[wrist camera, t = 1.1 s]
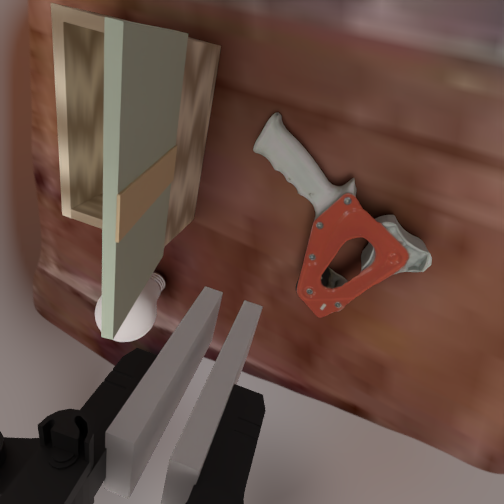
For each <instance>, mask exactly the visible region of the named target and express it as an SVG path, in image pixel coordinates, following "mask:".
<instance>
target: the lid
mask: <svg viewBox="0 0 504 504" xmlns="http://www.w3.org/2000/svg"><path fill="white" fill-rule="evenodd" d="M187 42H188V33H184V32H180V31H176V30H171V29H166V28H161V27H156V26H151V25H146V24H140V23H135V22H130V21H125V20H120V19H115V18H110V17H105V22H104V123H103V224H102V325H101V337H104V338H108V339H112V340H113V339H114V337H115V335H116V334H117V332H118V330H119V328H120V327H121V325H122V323H123V322H124V320H125V318H126V317H127V315H128V313H129V312H130V310H131V308H132V307H133V305H134V303H135V302H136V300H137V298H138V297H139V295H140V293H141V292H142V290H143V288H144V287H145V285H146V283H147V282H148V280H149V278H150V277H151V275H152V273H153V272H154V270H155V268H156V267H157V265H158V263H159V262H160V260H161V258H162V257H163V251H164V242H165V233H166V225H167V216H168V207H169V199H170V190H171V182H172V181H173V179H174V171H175V162H176V154H177V145H176V138H177V129H178V120H179V111H180V103H181V94H182V85H183V77H184V68H185V59H186V51H187Z"/></svg>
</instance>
